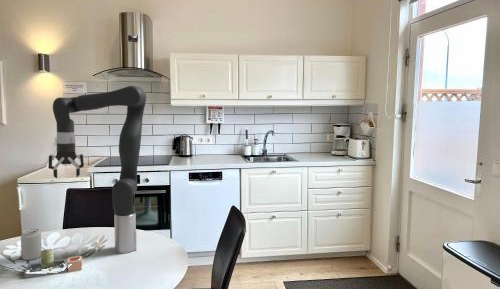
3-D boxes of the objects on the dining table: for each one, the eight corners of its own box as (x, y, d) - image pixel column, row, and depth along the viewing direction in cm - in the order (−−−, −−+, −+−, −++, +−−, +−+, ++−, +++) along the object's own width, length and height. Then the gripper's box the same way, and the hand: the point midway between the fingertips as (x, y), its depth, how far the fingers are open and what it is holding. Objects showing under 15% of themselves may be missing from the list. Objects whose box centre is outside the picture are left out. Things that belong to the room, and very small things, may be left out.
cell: (54, 266, 145) (53, 246, 144) (53, 271, 141) (52, 251, 140) (41, 268, 143) (41, 248, 142) (40, 273, 139) (39, 252, 138)
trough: (68, 263, 149) (67, 258, 148) (66, 272, 141) (66, 267, 140) (28, 268, 143) (28, 263, 143) (24, 278, 135) (24, 273, 135)
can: (32, 261, 149) (31, 234, 148) (17, 260, 150) (16, 232, 149) (45, 254, 156) (45, 228, 155) (31, 252, 158) (30, 226, 156)
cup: (81, 264, 147) (81, 255, 147) (81, 270, 143) (81, 260, 142) (68, 266, 145) (68, 257, 145) (67, 272, 141) (67, 262, 140)
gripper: (83, 140, 166) (84, 174, 168) (48, 141, 160) (49, 176, 162) (83, 142, 160) (83, 178, 161) (46, 143, 154) (48, 179, 155)
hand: (66, 177), depth 162 cm, fingers open, 8 cm apart
